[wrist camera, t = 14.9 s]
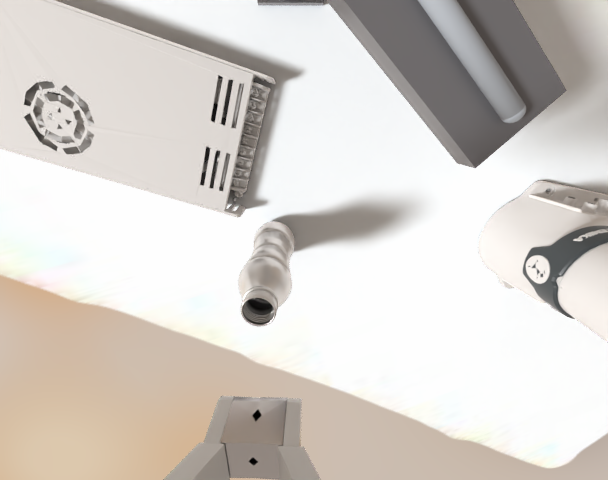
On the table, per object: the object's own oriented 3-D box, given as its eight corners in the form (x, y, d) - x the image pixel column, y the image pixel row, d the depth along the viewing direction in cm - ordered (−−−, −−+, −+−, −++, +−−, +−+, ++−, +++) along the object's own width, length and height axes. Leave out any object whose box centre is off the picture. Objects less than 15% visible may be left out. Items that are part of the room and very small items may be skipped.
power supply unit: (246, 208, 46) (239, 218, 41) (30, 145, 42) (-4, 147, 37) (276, 82, 39) (272, 76, 34) (20, -8, 35) (-23, -28, 30)
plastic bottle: (290, 214, 45) (281, 277, 27) (299, 251, 48) (296, 332, 29) (251, 221, 46) (217, 289, 27) (262, 258, 48) (237, 342, 30)
